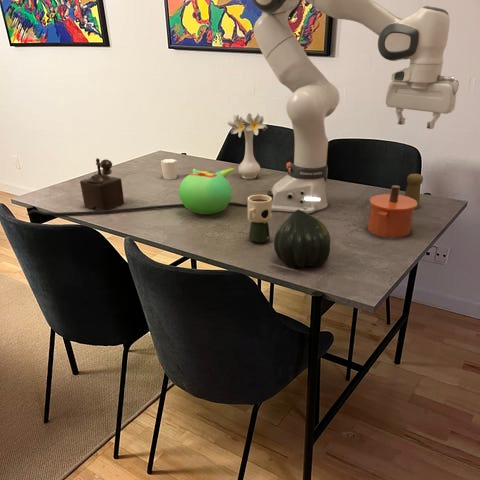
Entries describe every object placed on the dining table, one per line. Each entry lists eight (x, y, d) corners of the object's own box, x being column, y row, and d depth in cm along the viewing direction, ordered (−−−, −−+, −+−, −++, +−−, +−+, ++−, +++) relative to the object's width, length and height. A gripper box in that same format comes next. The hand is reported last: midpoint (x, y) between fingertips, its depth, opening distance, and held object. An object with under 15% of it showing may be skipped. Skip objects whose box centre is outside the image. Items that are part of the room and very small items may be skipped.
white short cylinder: (177, 179, 200) (176, 162, 196) (160, 180, 200) (159, 162, 196) (179, 175, 206) (178, 158, 202) (163, 175, 206) (161, 158, 202)
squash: (329, 261, 120) (332, 204, 122) (269, 260, 123) (273, 204, 125) (328, 276, 134) (331, 224, 136) (275, 274, 136) (278, 224, 139)
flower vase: (241, 170, 212) (241, 108, 198) (274, 177, 201) (275, 113, 188) (220, 176, 204) (218, 112, 190) (253, 184, 193) (253, 118, 179)
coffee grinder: (82, 207, 173) (72, 156, 163) (104, 198, 180) (96, 149, 171) (113, 215, 165) (105, 162, 156) (135, 206, 173) (129, 154, 164)
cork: (420, 209, 167) (426, 177, 161) (401, 208, 168) (407, 176, 162) (418, 203, 172) (424, 172, 166) (400, 202, 173) (405, 171, 167)
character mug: (260, 249, 140) (260, 205, 133) (239, 244, 144) (239, 201, 137) (278, 236, 148) (279, 195, 141) (258, 232, 151) (258, 191, 144)
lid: (362, 207, 145) (364, 188, 141) (379, 195, 154) (381, 177, 151) (408, 216, 138) (411, 196, 135) (422, 202, 148) (426, 184, 144)
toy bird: (172, 217, 163) (168, 173, 155) (193, 201, 176) (191, 160, 169) (222, 223, 158) (220, 178, 150) (239, 206, 171) (239, 164, 163)
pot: (358, 236, 147) (361, 207, 143) (379, 218, 160) (383, 191, 155) (398, 245, 141) (403, 215, 136) (417, 226, 154) (422, 198, 149)
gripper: (465, 76, 132) (453, 129, 140) (397, 71, 145) (390, 120, 152) (455, 78, 129) (443, 132, 136) (386, 73, 141) (379, 123, 148)
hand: (415, 126), depth 144 cm, fingers open, 8 cm apart
